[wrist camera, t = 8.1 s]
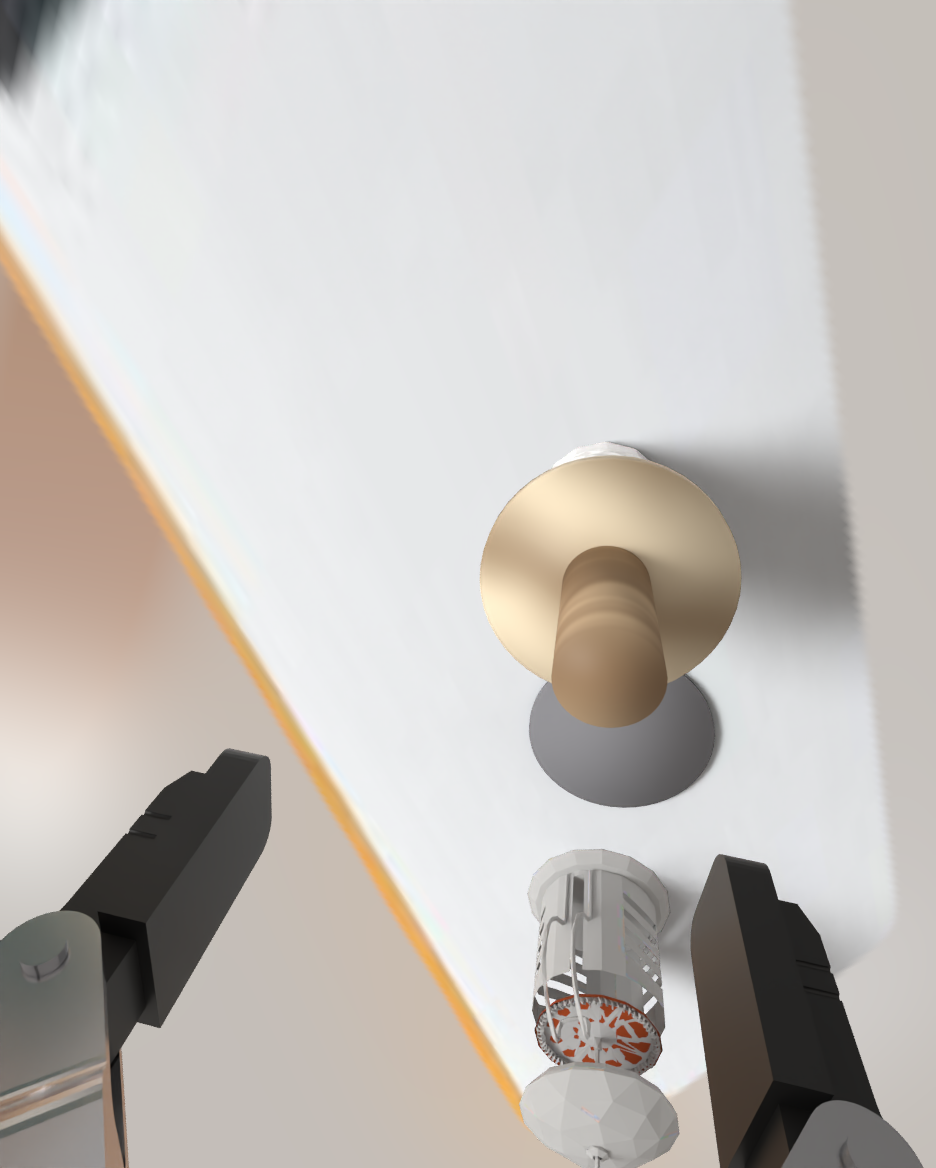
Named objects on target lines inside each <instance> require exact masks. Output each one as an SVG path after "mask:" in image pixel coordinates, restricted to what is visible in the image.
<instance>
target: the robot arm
mask: <svg viewBox="0 0 936 1168" xmlns="http://www.w3.org/2000/svg"><path fill="white" fill-rule="evenodd" d="M271 818H272V816H271V764H270V760H269V758H268V757H267V756H263V755H258V754H253V753H249V752H244V751H239V750H234V749H230V748H229V749H226V750H224V751H223V752H222V753H221V755H220V756H219V757H218V758H217V759H216V761H215V762H214V763H213V765H212V766H211V767H210V769H209V770H208V771H207V773H205V774H204V773H199V772H195V771H191V772H189V773H187V774H186V775H184V776H182V777H181V778H179V779H178V780H176V781H174V782H173V783H171V784H170V785H168V786H166V787H165V788H164V789H163V790H162V791H161V792H160V793H159V795H158V796H157V797H156V798H155V799H154V801H153V802H152V803H151V804H150V805H149V807H148V808H147V809H146V810H145V814H144V815H141V816H140V817H139V818H138V820H137V821H136V822H135V823H134V825H133V826H132V827H131V828H130V831H129V833H128V834H125V835H124V836H123V838H122V839H121V840H120V841H119V842H118V843H117V844H116V846H115V847H114V848H113V849H112V850H111V852H110V853H109V854H108V855H107V856H106V857H105V859H104V860H103V861H102V862H101V863H100V865H99V866H98V867H97V868H96V869H95V870H94V872H93V873H92V874H91V875H90V877H89V878H88V879H87V880H86V881H85V882H84V884H83V885H82V886H81V887H80V888H79V889H78V891H77V892H76V893H75V894H74V896H73V897H72V898H71V899H70V900H69V901H68V902H67V903H66V905H65V906H64V907H63V908H62V909H61V910H60V911H56V912H51V913H47V914H43V915H40V916H37V917H35V918H33V919H31V920H28V921H26V922H25V923H23V924H21V925H20V926H18V927H16V928H15V929H14V930H13V931H11V932H10V933H8V934H7V935H6V936H5V937H4V938H3V939H2V940H0V1168H129V1163H128V1147H127V1129H126V1113H125V1096H124V1081H123V1066H122V1065H123V1064H122V1051H121V1047H122V1045H123V1044H124V1042H125V1040H126V1039H127V1037H128V1036H129V1034H130V1032H131V1031H132V1029H133V1027H134V1026H135V1024H136V1023H137V1022H139V1023H143V1024H147V1025H151V1026H154V1027H158V1028H161V1026H162V1024H163V1022H164V1021H165V1019H166V1017H167V1016H168V1014H169V1012H170V1010H171V1009H172V1007H173V1005H174V1004H175V1002H176V1000H177V998H178V997H179V995H180V993H181V992H182V990H183V988H184V986H185V984H186V983H187V981H188V979H189V978H190V976H191V974H192V972H193V971H194V969H195V967H196V966H197V964H198V962H199V961H200V959H201V957H202V955H203V953H204V952H205V950H206V948H207V947H208V945H209V943H210V942H211V940H212V938H213V936H214V935H215V933H216V931H217V930H218V928H219V926H220V924H221V923H222V921H223V919H224V917H225V916H226V914H227V912H228V910H229V909H230V907H231V905H232V904H233V902H234V900H235V899H236V897H237V895H238V893H239V892H240V890H241V888H242V886H243V885H244V883H245V881H246V880H247V878H248V876H249V874H250V873H251V871H252V869H253V868H254V866H255V864H256V862H257V861H258V859H259V857H260V855H261V854H262V852H263V849H264V847H265V845H266V842H267V839H268V836H269V832H270V827H271ZM691 957H692V964H693V972H694V979H695V986H696V994H697V1001H698V1008H699V1016H700V1023H701V1030H702V1038H703V1045H704V1052H705V1060H706V1067H707V1074H708V1081H709V1089H710V1096H711V1103H712V1110H713V1118H714V1126H715V1133H716V1140H717V1148H718V1155H719V1162H720V1168H923V1166H922V1164H921V1163H920V1161H919V1159H918V1157H917V1156H916V1154H915V1152H914V1151H913V1150H912V1148H911V1147H910V1146H909V1144H908V1143H907V1142H906V1141H905V1140H904V1138H903V1137H902V1136H901V1135H900V1134H899V1133H898V1132H897V1131H896V1130H895V1129H894V1128H893V1127H892V1126H891V1125H890V1124H889V1123H887V1122H886V1121H885V1120H883V1118H882V1116H881V1114H880V1112H879V1109H878V1107H877V1104H876V1101H875V1098H874V1095H873V1092H872V1089H871V1086H870V1083H869V1080H868V1077H867V1075H866V1072H865V1069H864V1066H863V1062H862V1060H861V1057H860V1054H859V1051H858V1048H857V1045H856V1042H855V1039H854V1036H853V1033H852V1030H851V1027H850V1024H849V1021H848V1018H847V1015H846V1012H845V1009H844V1006H843V1003H842V1001H840V1000H839V991H838V988H837V985H836V982H835V979H834V976H833V974H832V973H830V964H829V961H828V958H827V955H826V952H825V949H824V946H823V943H822V940H821V937H820V934H819V933H818V932H817V930H816V929H815V928H814V926H813V925H812V924H811V922H810V921H809V919H808V918H807V917H806V915H805V914H804V913H803V911H802V910H801V909H800V907H799V906H798V904H794V903H790V902H785V901H780V900H778V897H777V894H776V890H775V887H774V883H773V880H772V876H771V873H770V870H769V868H768V866H767V865H766V864H764V863H760V862H755V861H750V860H746V859H741V858H736V857H731V856H727V855H722V854H719V855H718V856H717V857H716V858H715V860H714V862H713V865H712V868H711V870H710V873H709V876H708V879H707V881H706V884H705V887H704V889H703V892H702V895H701V898H700V900H699V903H698V906H697V908H696V911H695V914H694V918H693V922H692V929H691Z"/></svg>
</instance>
